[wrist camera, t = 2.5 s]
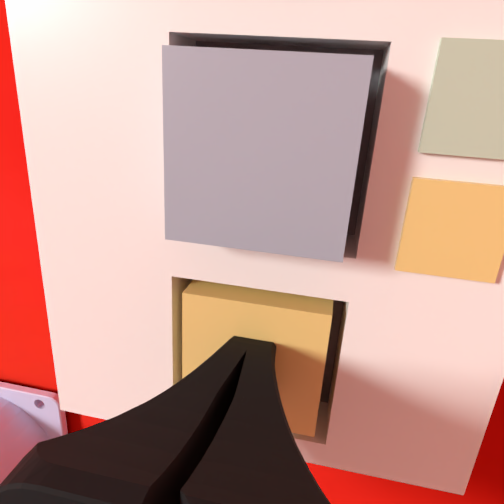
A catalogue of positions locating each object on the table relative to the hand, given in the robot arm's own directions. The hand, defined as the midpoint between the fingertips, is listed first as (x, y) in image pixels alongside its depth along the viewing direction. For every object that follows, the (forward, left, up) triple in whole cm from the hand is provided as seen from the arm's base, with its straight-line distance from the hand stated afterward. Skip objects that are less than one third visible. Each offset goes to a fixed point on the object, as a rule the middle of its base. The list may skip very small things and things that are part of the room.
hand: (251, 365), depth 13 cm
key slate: (0, +7, -1) cm, 7 cm away
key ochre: (0, 0, -2) cm, 2 cm away
